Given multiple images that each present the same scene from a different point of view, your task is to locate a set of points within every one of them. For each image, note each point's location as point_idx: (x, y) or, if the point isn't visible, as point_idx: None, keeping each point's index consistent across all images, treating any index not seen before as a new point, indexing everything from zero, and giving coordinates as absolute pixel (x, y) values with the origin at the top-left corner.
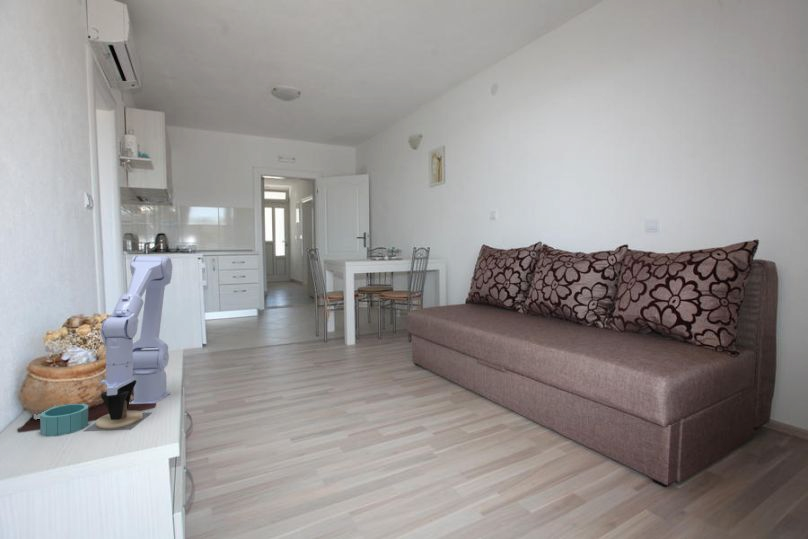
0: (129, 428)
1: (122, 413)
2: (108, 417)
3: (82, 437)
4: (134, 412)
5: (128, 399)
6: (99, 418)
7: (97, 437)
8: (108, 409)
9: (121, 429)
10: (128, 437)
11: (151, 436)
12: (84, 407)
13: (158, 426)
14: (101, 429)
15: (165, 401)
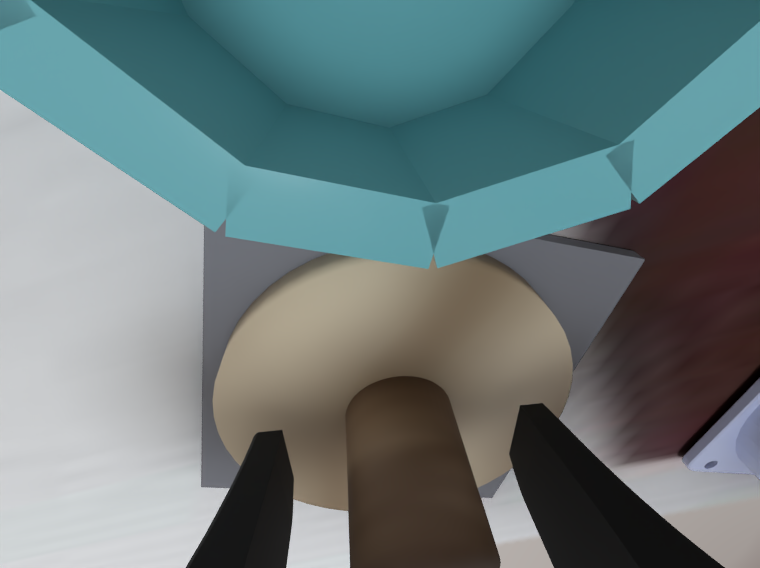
0: (216, 477)
1: (289, 524)
2: (436, 339)
3: (96, 208)
4: (477, 464)
5: (557, 560)
6: (442, 271)
7: (97, 328)
8: (195, 556)
9: (205, 444)
10: (98, 487)
11: (114, 560)
12: (479, 198)
13: None
14: (227, 327)
15: (699, 481)
